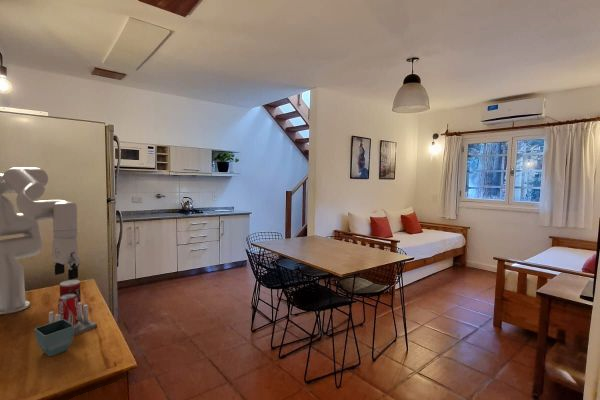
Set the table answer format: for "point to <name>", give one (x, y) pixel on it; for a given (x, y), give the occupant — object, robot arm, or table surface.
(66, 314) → the soda can
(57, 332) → the flower pot
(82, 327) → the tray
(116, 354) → the table surface
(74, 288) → the canned food
